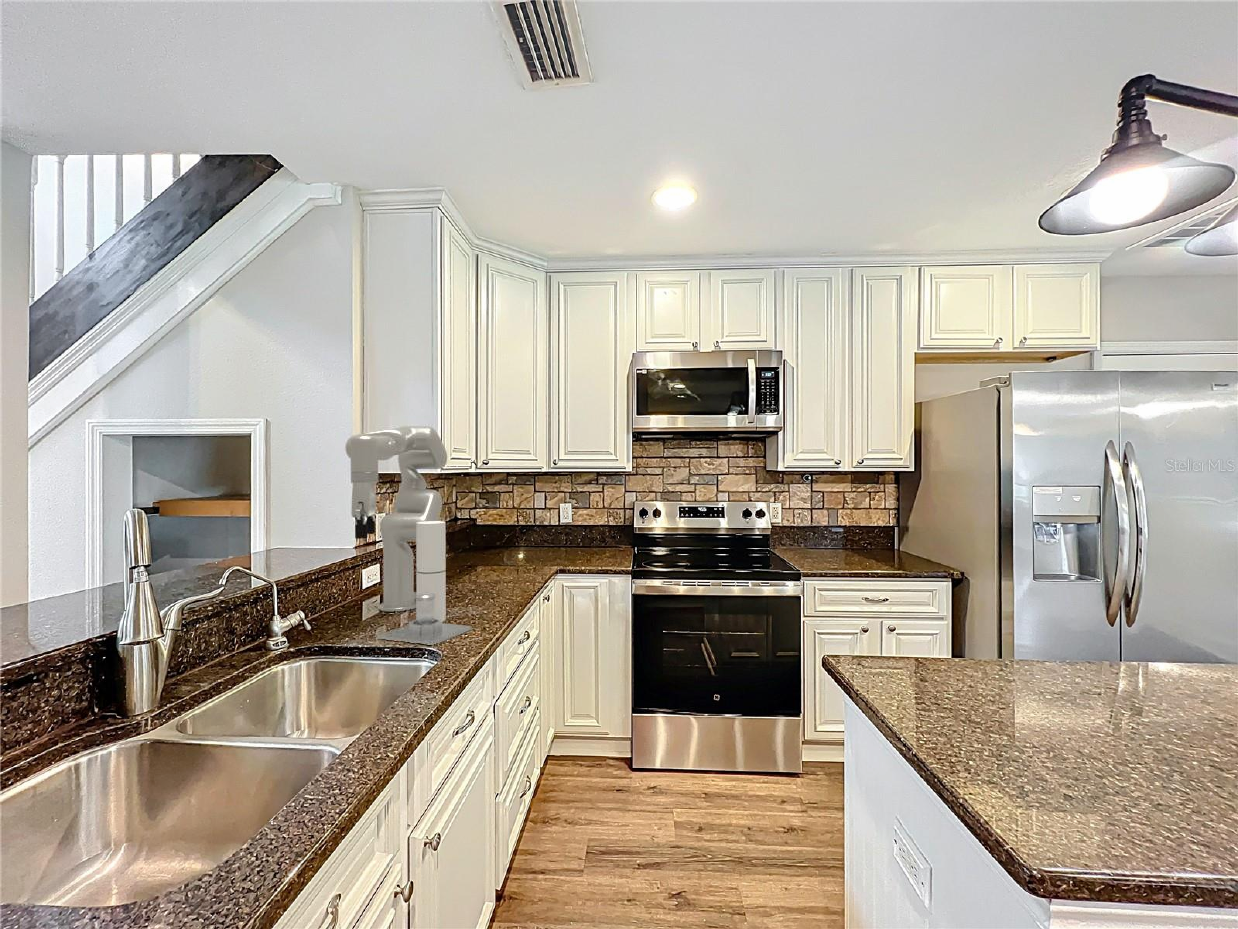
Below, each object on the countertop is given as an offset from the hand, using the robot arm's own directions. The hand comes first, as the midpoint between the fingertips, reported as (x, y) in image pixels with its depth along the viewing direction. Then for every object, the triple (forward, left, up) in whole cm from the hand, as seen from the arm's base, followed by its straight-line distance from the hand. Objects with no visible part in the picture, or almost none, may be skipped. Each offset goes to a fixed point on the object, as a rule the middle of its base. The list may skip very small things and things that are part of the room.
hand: (365, 536), depth 189 cm
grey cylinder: (0, +22, -26) cm, 34 cm away
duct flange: (0, +22, -27) cm, 35 cm away
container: (-14, +13, -27) cm, 33 cm away
